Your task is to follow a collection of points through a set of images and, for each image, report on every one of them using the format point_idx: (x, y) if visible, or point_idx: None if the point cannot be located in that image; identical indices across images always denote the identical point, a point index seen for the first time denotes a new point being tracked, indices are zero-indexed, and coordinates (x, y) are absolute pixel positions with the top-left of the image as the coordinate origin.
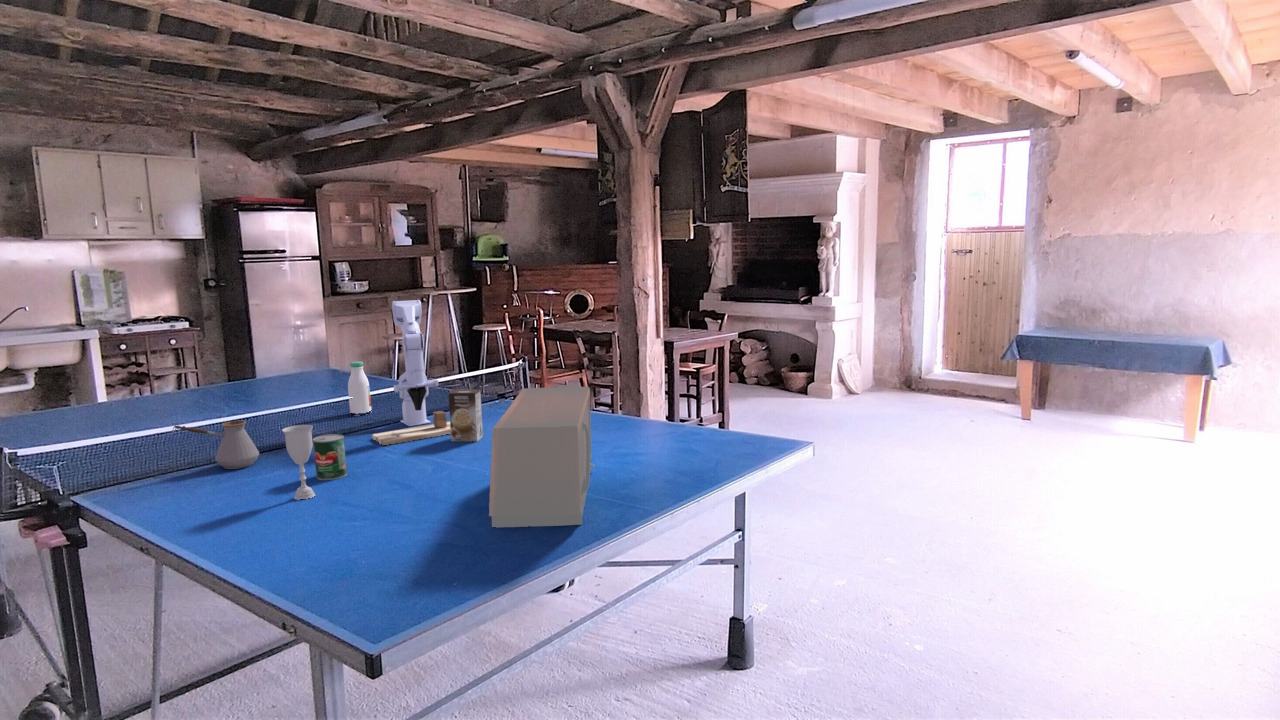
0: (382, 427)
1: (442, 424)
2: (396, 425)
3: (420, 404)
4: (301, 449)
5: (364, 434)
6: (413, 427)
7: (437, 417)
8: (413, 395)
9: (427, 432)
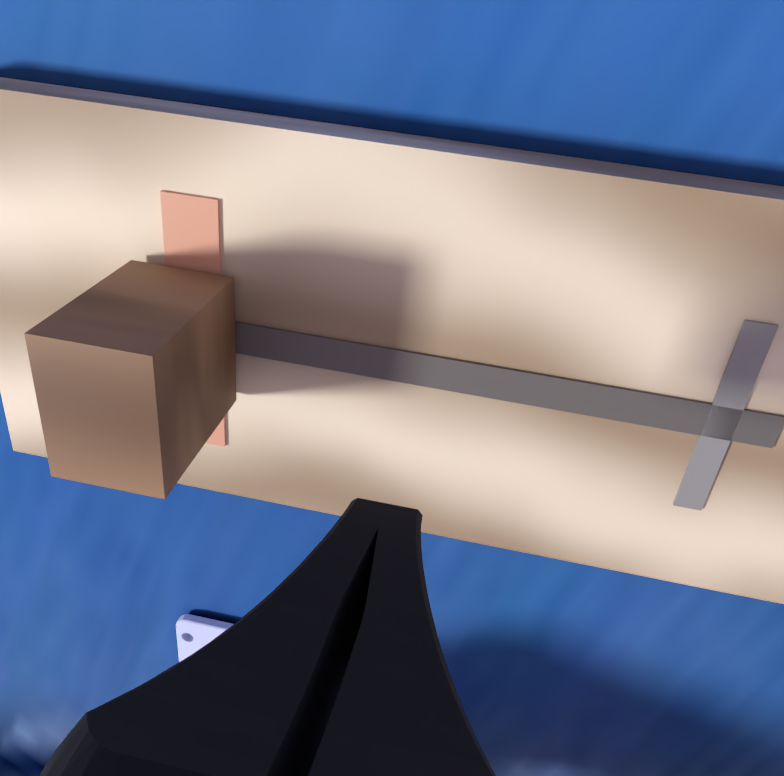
0: (525, 771)
1: (165, 280)
2: None
3: (342, 554)
4: None
5: (760, 731)
6: None
7: (176, 336)
8: (478, 758)
9: (411, 215)
